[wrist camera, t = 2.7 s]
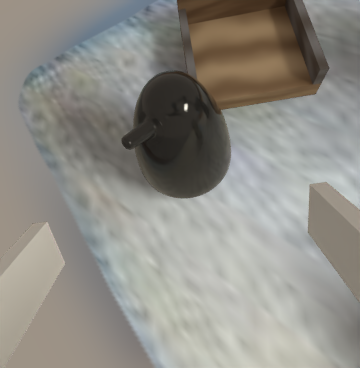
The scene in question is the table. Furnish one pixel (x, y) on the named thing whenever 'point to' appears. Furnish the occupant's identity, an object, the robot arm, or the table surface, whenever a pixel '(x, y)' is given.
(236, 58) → the stand
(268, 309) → the table surface
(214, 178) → the pump dispenser
